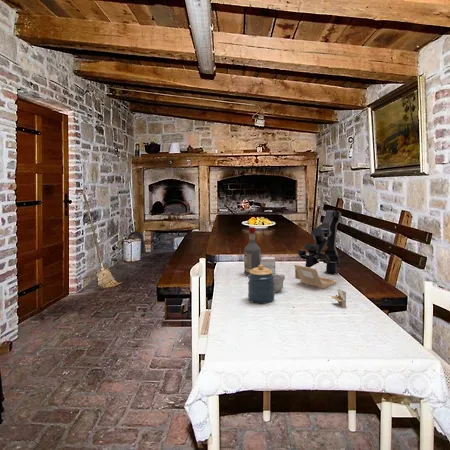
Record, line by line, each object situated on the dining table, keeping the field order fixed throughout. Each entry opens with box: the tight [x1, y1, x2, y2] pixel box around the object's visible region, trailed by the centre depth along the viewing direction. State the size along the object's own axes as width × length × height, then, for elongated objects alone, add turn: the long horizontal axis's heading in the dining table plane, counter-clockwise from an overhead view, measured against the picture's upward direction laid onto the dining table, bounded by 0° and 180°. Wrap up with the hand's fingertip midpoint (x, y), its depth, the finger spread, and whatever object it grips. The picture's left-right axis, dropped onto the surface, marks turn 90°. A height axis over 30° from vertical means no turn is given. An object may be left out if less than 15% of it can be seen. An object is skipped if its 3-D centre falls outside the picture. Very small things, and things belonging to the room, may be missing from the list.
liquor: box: [243, 226, 262, 277], centre depth 213 cm, size 9×9×30 cm
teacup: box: [273, 273, 286, 293], centre depth 182 cm, size 14×11×8 cm
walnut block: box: [294, 267, 300, 280], centre depth 204 cm, size 4×4×6 cm
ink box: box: [261, 256, 276, 274], centre depth 209 cm, size 9×5×12 cm, turn 86°
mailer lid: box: [294, 263, 322, 284], centre depth 187 cm, size 11×15×1 cm
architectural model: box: [330, 288, 347, 308], centre depth 158 cm, size 3×7×7 cm, turn 16°
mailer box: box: [299, 276, 337, 289], centre depth 193 cm, size 12×15×2 cm
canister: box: [247, 264, 275, 304], centre depth 167 cm, size 13×13×18 cm
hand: (306, 268), depth 186 cm, fingers closed, pressing on mailer lid
